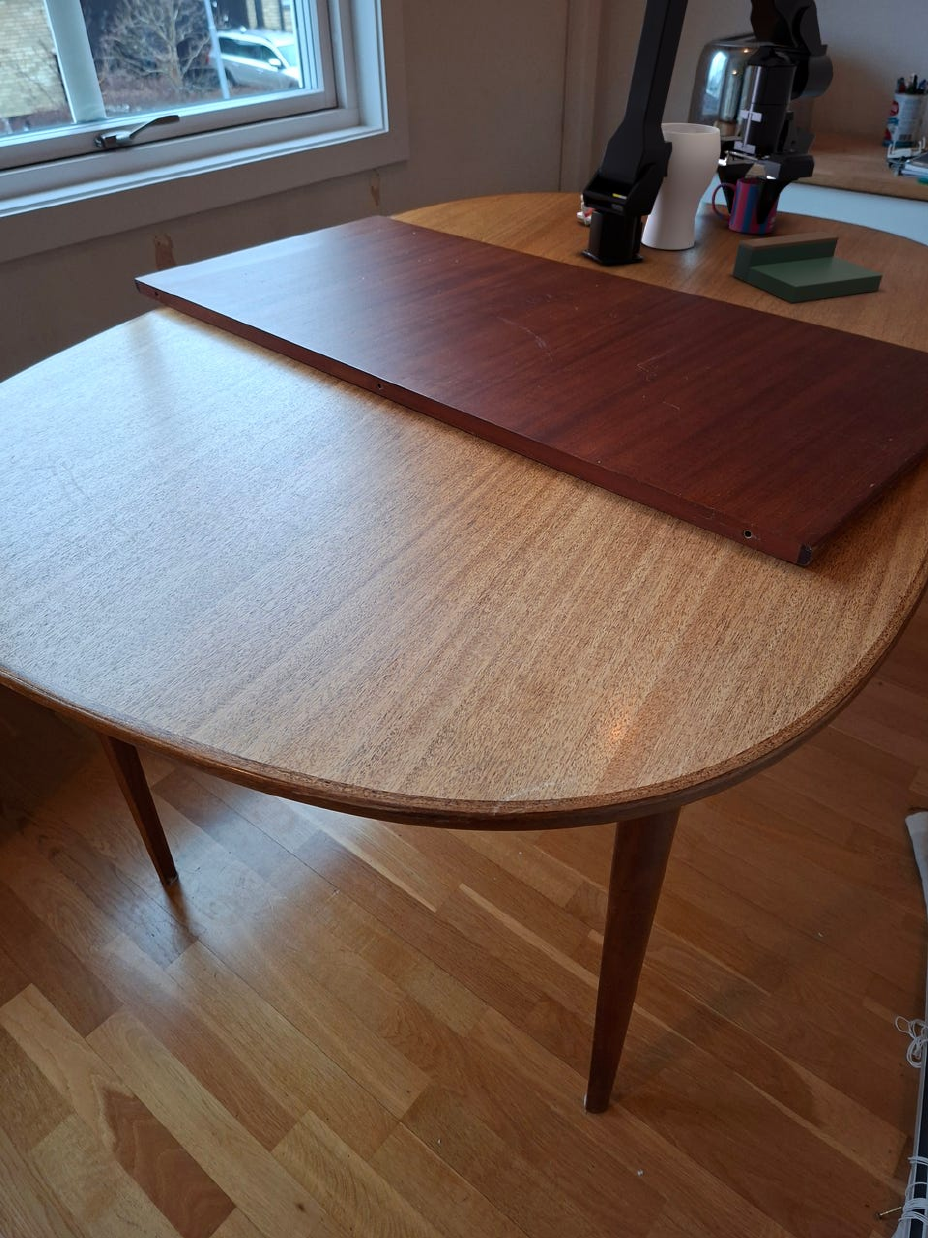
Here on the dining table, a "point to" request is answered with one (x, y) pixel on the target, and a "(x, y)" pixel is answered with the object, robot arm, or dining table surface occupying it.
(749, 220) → the cup
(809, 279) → the green l-shaped stand
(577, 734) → the dining table surface
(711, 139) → the cup
